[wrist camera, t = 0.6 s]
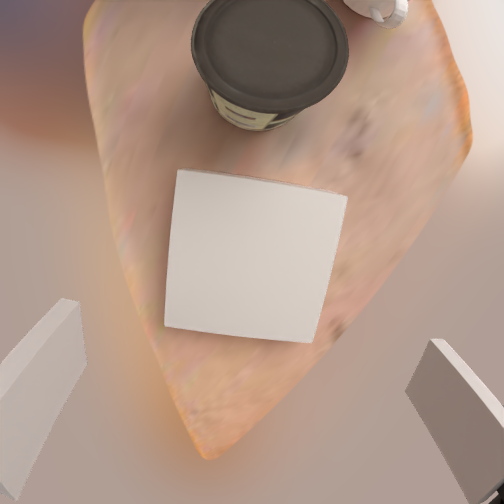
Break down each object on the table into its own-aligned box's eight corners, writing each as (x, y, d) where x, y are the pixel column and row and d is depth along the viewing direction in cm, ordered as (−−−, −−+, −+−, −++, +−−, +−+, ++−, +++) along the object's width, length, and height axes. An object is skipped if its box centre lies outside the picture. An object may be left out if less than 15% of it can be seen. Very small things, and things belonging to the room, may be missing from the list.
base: (185, 167, 32) (177, 169, 28) (332, 191, 34) (347, 196, 29) (172, 305, 37) (164, 326, 32) (303, 321, 38) (312, 342, 34)
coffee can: (302, 43, 29) (341, -15, 15) (307, 130, 32) (354, 115, 18) (207, 44, 29) (191, -19, 15) (209, 133, 32) (191, 117, 18)
